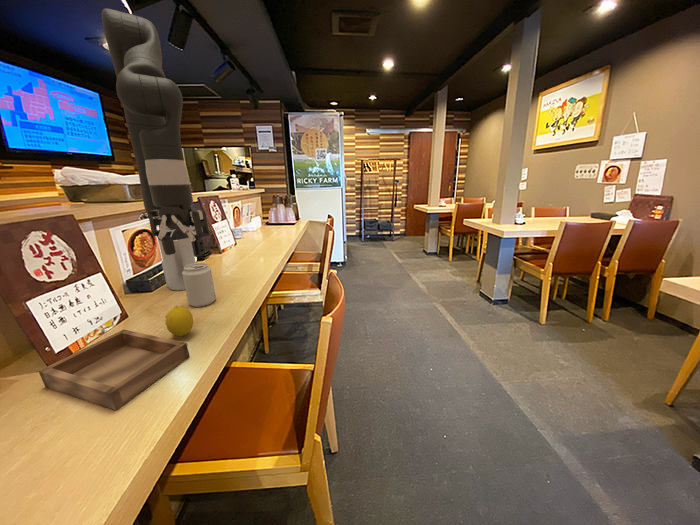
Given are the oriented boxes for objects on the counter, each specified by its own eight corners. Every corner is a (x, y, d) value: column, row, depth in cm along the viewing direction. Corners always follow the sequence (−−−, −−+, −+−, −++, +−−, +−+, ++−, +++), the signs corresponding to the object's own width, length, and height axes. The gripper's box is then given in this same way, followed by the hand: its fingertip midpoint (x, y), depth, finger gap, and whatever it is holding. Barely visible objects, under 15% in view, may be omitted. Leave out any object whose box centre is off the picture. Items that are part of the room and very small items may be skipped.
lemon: (179, 329, 68) (172, 300, 65) (200, 330, 67) (194, 300, 65) (164, 342, 62) (156, 311, 60) (187, 343, 62) (180, 311, 60)
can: (205, 309, 78) (197, 270, 74) (182, 307, 79) (174, 268, 76) (221, 298, 85) (215, 262, 81) (201, 296, 86) (194, 260, 83)
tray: (45, 386, 49) (38, 371, 48) (127, 342, 62) (123, 329, 61) (115, 410, 44) (109, 393, 43) (189, 356, 57) (186, 342, 56)
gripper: (209, 182, 60) (221, 252, 64) (160, 183, 64) (175, 249, 68) (180, 182, 53) (196, 261, 58) (127, 183, 57) (146, 257, 62)
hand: (184, 255), depth 63 cm, fingers open, 8 cm apart
